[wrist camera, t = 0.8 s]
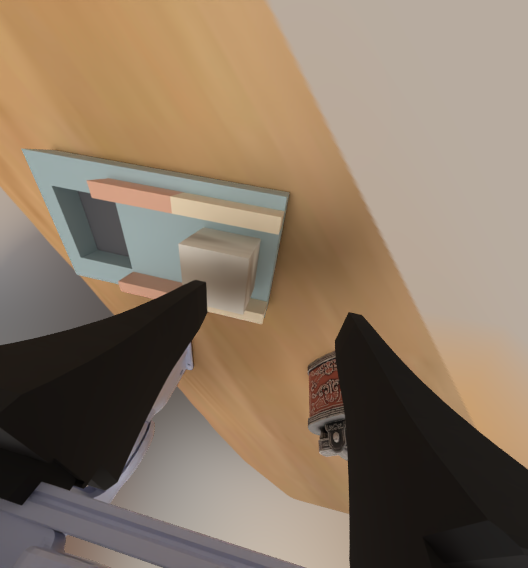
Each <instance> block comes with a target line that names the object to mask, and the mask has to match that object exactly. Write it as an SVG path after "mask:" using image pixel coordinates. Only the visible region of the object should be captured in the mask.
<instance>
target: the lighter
mask: <svg viewBox="0 0 528 568" xmlns="http://www.w3.org/2000/svg"><path fill="white" fill-rule="evenodd" d="M308 375H309V405H310V418H308V429H309V430H310V431H311V432H312V433H314V434H316V435H320V440H319V453H320V454H321V455H323V456H327V457H328V456H335V455H339V456H340V457H342V458H343V459H345V460H348V454H347V438H346V424H345V414H344V407H343V401H342V395H341V389H340V384H339V378H338V372H337V366H336V356H335V351H334V352H331V353H329V354H326V355H324V356H322V357H320V358H318V359H317V360H315V361H314V362H312V363H311V364H309V365H308Z"/></svg>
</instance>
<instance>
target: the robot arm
mask: <svg viewBox="0 0 528 568" xmlns="http://www.w3.org/2000/svg"><path fill="white" fill-rule="evenodd" d="M206 314H207V287H206V282H204V281H199V280H193V281H191V282H189V283H187V284H184V285H182V286H180V287H178V288H176V289H174V290H172V291H170V292H168V293H166V294H164V295H162V296H160V297H158V298H156V299H154V300H151V301H149V302H147V303H145V304H142V305H140V306H138V307H136V308H133V309H131V310H128V311H125V312H123V313H120V314H117V315H115V316H112V317H109V318H106V319H103V320H100V321H97V322H93V323H90V324H87V325H83V326H80V327H77V328H73V329H70V330H66V331H62V332H58V333H54V334H50V335H46V336H42V337H38V338H34V339H29V340H25V341H20V342H15V343H10V344H5V345H0V568H110V567H108V566H105V565H103V564H100V563H98V562H95V561H92V560H89V559H86V558H82V557H79V556H75V555H72V554H68V553H65V551H64V545H65V542H66V537H65V536H67V535H71V536H73V537H76V538H79V539H82V540H85V541H88V542H91V543H94V544H97V545H100V546H102V547H105V548H108V549H111V550H114V551H117V552H120V553H122V554H125V555H128V556H131V557H134V558H137V559H140V560H143V561H146V562H148V563H151V564H154V565H157V566H160V567H163V568H305V567H302V566H299V565H296V564H293V563H290V562H287V561H284V560H280V559H277V558H274V557H271V556H268V555H265V554H262V553H259V552H256V551H252V550H250V549H247V548H244V547H241V546H237V545H234V544H231V543H228V542H225V541H222V540H219V539H216V538H213V537H210V536H207V535H204V534H201V533H198V532H195V531H192V530H188V529H185V528H182V527H179V526H176V525H173V524H170V523H167V522H164V521H161V520H158V519H154V518H152V517H149V516H146V515H143V514H139V513H136V512H133V511H130V510H127V509H124V508H121V507H118V506H115V505H112V504H110V503H111V501H112V500H113V498H114V497H115V495H116V494H117V492H118V491H119V489H120V488H121V487H122V485H123V484H124V483H125V482H126V481H127V480H128V479H129V478H130V476H131V475H132V474H133V472H134V471H135V470H136V468H137V467H138V465H139V464H140V462H141V460H142V458H143V457H144V455H145V454H146V452H147V450H148V448H149V446H150V444H151V441H152V439H153V436H154V427H155V423H154V421H153V420H151V419H152V417H153V416H154V414H156V413H157V412H159V411H160V410H161V409H162V408H163V407H164V406H165V404H166V403H167V402H168V400H169V398H170V396H171V395H172V392H173V391H174V389H175V388H176V386H177V384H178V382H179V381H180V379H181V377H182V376H183V374H184V372H185V370H186V369H188V370H192V369H193V358H192V347H191V341H192V339H193V338H194V336H195V335H196V333H197V332H198V330H199V329H200V327H201V325H202V323H203V321H204V319H205V317H206ZM335 356H336V366H337V372H338V378H339V384H340V389H341V395H342V401H343V407H344V414H345V424H346V438H347V454H348V474H349V515H350V557H349V559H350V560H349V561H350V568H528V469H526V468H525V467H524V466H523V465H521V464H520V463H519V462H517V461H516V460H515V459H513V458H512V457H511V456H509V455H508V454H507V453H505V452H504V451H503V450H502V449H500V448H499V447H498V446H496V445H495V444H494V443H492V442H491V441H490V440H489V439H488V438H486V437H485V436H483V434H481V433H480V432H479V431H478V430H476V429H475V428H474V427H473V426H472V425H470V424H469V423H468V422H467V421H466V420H464V419H463V418H462V417H461V416H460V415H458V414H457V413H456V412H455V411H454V410H453V409H451V408H450V407H449V406H448V405H447V404H446V403H445V402H444V401H442V400H441V399H440V398H439V397H438V396H437V395H436V394H435V393H434V392H433V391H432V390H431V389H429V388H428V387H427V386H426V385H425V384H424V383H423V382H422V381H421V380H420V379H419V378H418V377H417V376H416V375H415V374H414V373H413V372H412V371H411V370H410V369H409V368H408V367H407V366H406V365H405V364H404V363H403V361H402V360H401V359H400V358H399V357H398V356H397V355H396V354H395V353H394V352H393V351H392V349H391V348H390V347H389V346H388V345H387V344H386V343H385V341H384V340H383V339H382V338H381V337H380V336H379V334H378V333H377V332H376V331H375V330H374V328H373V327H372V326H371V325H370V324H369V323H368V321H367V320H366V319H365V318H364V317H363V316H362V315H359V314H355V313H350V312H349V313H348V315H347V317H346V319H345V321H344V323H343V325H342V328H341V330H340V332H339V334H338V336H337V338H336V340H335ZM87 485H88V487H86V486H87Z"/></svg>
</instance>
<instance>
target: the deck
mask: <svg viewBox="0 0 528 568" xmlns="http://www.w3.org/2000/svg"><path fill="white" fill-rule="evenodd" d="M22 151H23V153H24V156H25V158H26V160H27V162H28V165H29V167H30V169H31V172H32V174H33V176H34V178H35V181H36V183H37V185H38V187H39V190H40V192H41V194H42V197H43V199H44V201H45V203H46V206H47V208H48V210H49V213H50V215H51V217H52V219H53V222H54V224H55V226H56V228H57V231H58V233H59V235H60V238H61V240H62V242H63V244H64V247H65V249H66V251H67V254H68V256H69V258H70V260H71V263H72V265H73V267H74V269H75V272H76V274H77V275H81V276H85V277H89V278H94V279H98V280H102V281H107V282H111V283H115V284H119V286H120V289H121V291H122V292H126V293H131V294H135V295H139V296H143V297H148V298H152V299H156V298H158V297H160V296H162V295H164V294H166V293H168V292H170V291H172V290H174V289H176V288H178V287H180V286H182V276H181V266H180V257H179V247H178V244H179V243H180V242H182V241H183V240H185V239H186V238H188V237H189V236H191V235H192V234H194V233H196V232H197V231H199V230H200V229H202V228H203V227H205V228H210V229H215V230H220V231H225V232H230V233H235V234H240V235H245V236H250V237H255V238H260V239H261V242H260V249H259V257H258V264H257V271H256V279H255V286H254V290H253V292H252V295H251V297H250V300H249V302H248V304H247V307H246V309H245V312H244V314H243V315H242V314H237V313H233V312H229V311H224V310H220V309H216V308H212V307H207V312H212V313H216V314H220V315H224V316H229V317H233V318H237V319H241V320H246V321H250V322H254V323H258V324H262V323H263V319H264V318H265V314H266V310H267V306H268V302H269V297H270V292H271V287H272V282H273V276H274V271H275V266H276V261H277V256H278V250H279V245H280V240H281V235H282V230H283V224H284V219H285V214H286V209H287V204H288V199H289V193H290V192H285V191H279V190H273V189H268V188H262V187H257V186H251V185H246V184H240V183H235V182H229V181H223V180H218V179H212V178H207V177H201V176H196V175H190V174H185V173H179V172H173V171H168V170H162V169H157V168H151V167H146V166H140V165H134V164H129V163H123V162H118V161H112V160H107V159H101V158H96V157H90V156H84V155H79V154H73V153H68V152H62V151H57V150H41V149H22Z"/></svg>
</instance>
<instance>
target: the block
mask: <svg viewBox="0 0 528 568" xmlns="http://www.w3.org/2000/svg"><path fill="white" fill-rule="evenodd" d="M260 242H261V239H260V238H255V237H250V236H245V235H240V234H235V233H230V232H225V231H220V230H215V229H210V228H205V227H203V228H202V229H200V230H199V231H197V232H196V233H194V234H192V235H191V236H189V237H188V238H186V239H185V240H183V241H182V242H180V243H179V244H178V247H179V257H180V266H181V276H182V285H184V284H187V283H189V282H191V281H193V280H199V281H204V282H206V287H207V307H212V308H216V309H220V310H224V311H229V312H233V313H237V314H242V315H243V314H244V312H245V309H246V307H247V304H248V302H249V300H250V297H251V295H252V292H253V290H254V286H255V279H256V271H257V264H258V257H259V249H260Z"/></svg>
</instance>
